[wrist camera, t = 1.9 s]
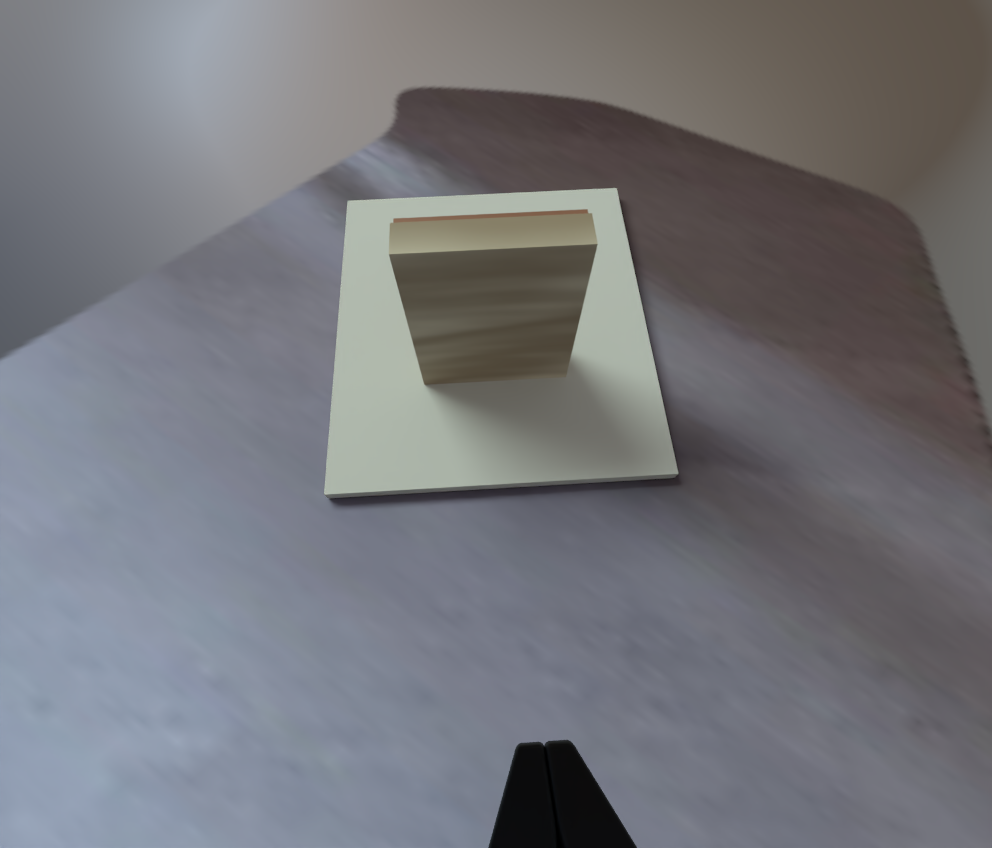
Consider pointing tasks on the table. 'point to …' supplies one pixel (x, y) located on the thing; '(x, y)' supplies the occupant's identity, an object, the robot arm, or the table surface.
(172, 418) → the table surface
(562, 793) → the robot arm
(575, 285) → the tile
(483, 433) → the mat
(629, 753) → the table surface
